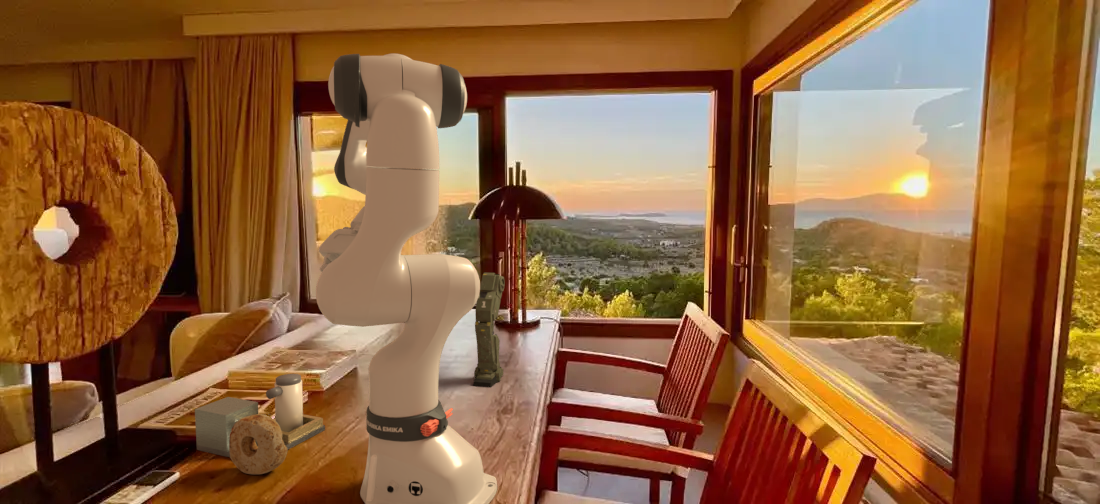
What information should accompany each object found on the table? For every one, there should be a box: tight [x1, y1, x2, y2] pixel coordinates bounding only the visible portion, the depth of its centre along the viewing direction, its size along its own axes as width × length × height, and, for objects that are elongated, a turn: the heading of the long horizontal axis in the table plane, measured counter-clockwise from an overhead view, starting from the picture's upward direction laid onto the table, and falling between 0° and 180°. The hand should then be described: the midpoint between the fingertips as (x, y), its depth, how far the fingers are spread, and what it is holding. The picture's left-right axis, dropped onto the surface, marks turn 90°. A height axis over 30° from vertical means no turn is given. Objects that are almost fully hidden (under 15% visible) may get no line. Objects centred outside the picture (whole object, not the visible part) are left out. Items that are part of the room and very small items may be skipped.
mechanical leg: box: [472, 272, 506, 388], centre depth 145 cm, size 14×7×30 cm, turn 169°
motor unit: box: [194, 396, 326, 458], centre depth 107 cm, size 16×16×8 cm
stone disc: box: [229, 413, 289, 475], centre depth 94 cm, size 10×4×10 cm, turn 75°
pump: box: [265, 373, 304, 432], centre depth 108 cm, size 5×7×11 cm
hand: (337, 273), depth 121 cm, fingers open, 8 cm apart
